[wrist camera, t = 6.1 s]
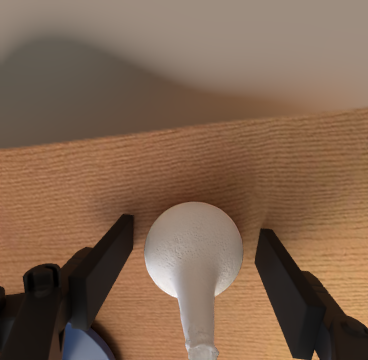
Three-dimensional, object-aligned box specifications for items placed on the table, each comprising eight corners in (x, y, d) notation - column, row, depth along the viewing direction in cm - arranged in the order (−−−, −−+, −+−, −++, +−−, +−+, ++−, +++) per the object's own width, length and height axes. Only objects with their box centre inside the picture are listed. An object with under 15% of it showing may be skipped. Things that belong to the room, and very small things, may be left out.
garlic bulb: (170, 181, 14) (136, 243, 7) (254, 216, 15) (314, 316, 7) (139, 255, 16) (83, 374, 8) (215, 286, 16) (230, 432, 8)
